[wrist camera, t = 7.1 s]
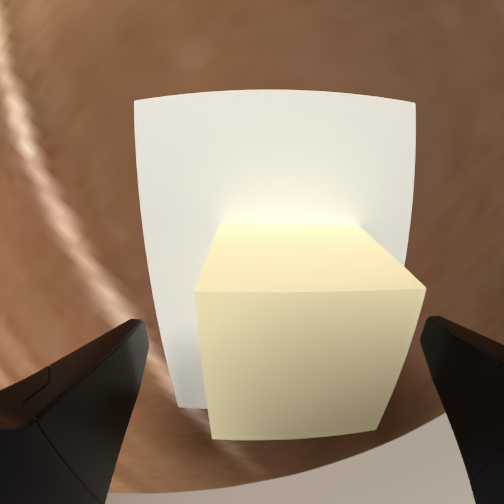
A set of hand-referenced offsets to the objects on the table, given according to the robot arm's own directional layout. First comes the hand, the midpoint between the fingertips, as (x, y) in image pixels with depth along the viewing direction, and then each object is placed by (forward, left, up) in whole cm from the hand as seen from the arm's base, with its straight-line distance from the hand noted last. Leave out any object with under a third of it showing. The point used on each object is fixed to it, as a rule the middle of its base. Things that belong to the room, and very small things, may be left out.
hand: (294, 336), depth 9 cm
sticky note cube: (0, 0, -3) cm, 3 cm away
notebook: (0, 0, -6) cm, 6 cm away
